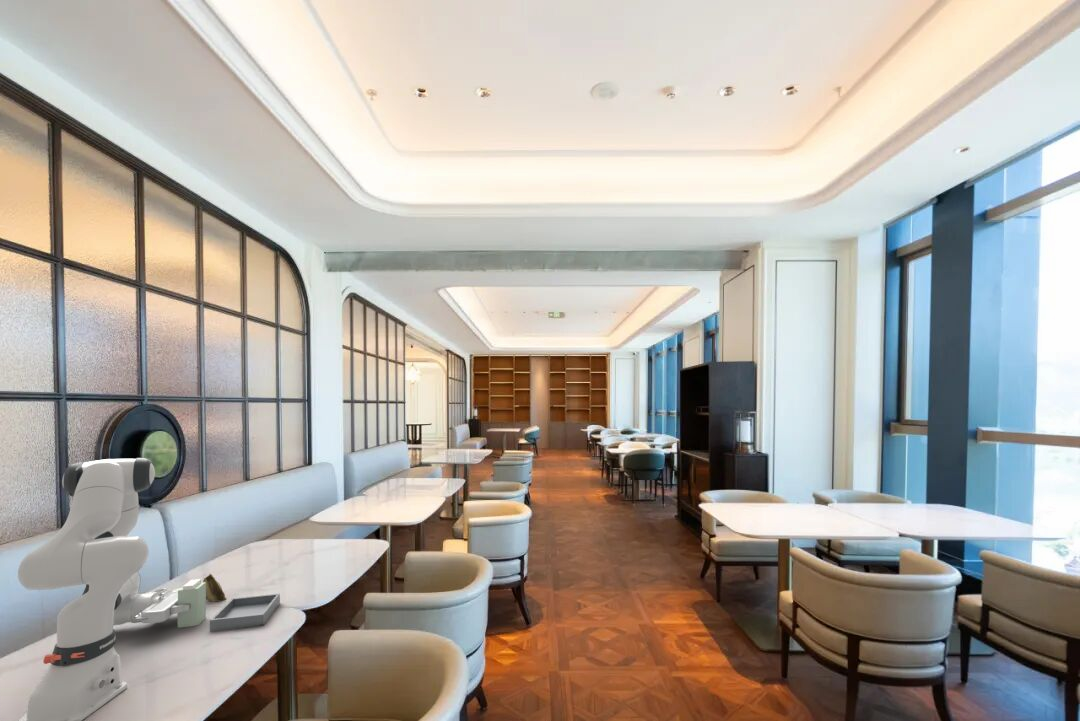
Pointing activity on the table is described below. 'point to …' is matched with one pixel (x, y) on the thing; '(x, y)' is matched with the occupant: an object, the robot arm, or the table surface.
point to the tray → (245, 612)
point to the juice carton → (192, 603)
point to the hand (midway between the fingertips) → (195, 602)
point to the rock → (213, 589)
